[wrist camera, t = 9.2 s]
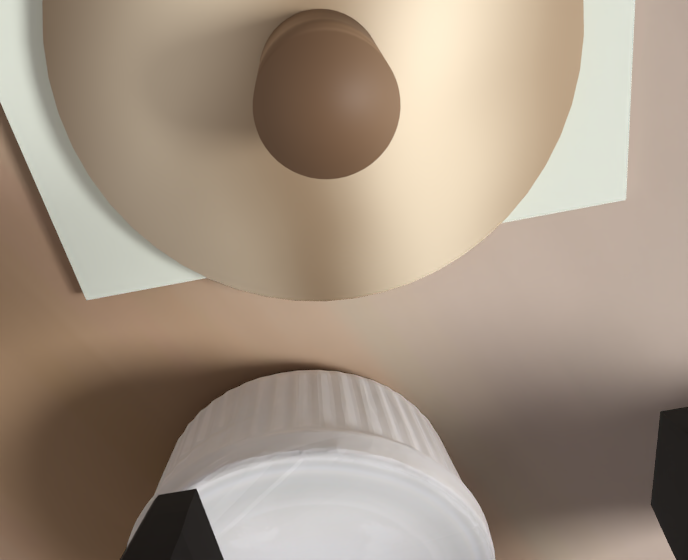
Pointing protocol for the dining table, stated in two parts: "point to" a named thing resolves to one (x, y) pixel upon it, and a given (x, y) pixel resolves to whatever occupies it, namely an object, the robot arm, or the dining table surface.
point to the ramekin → (324, 474)
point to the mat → (160, 270)
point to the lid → (313, 128)
